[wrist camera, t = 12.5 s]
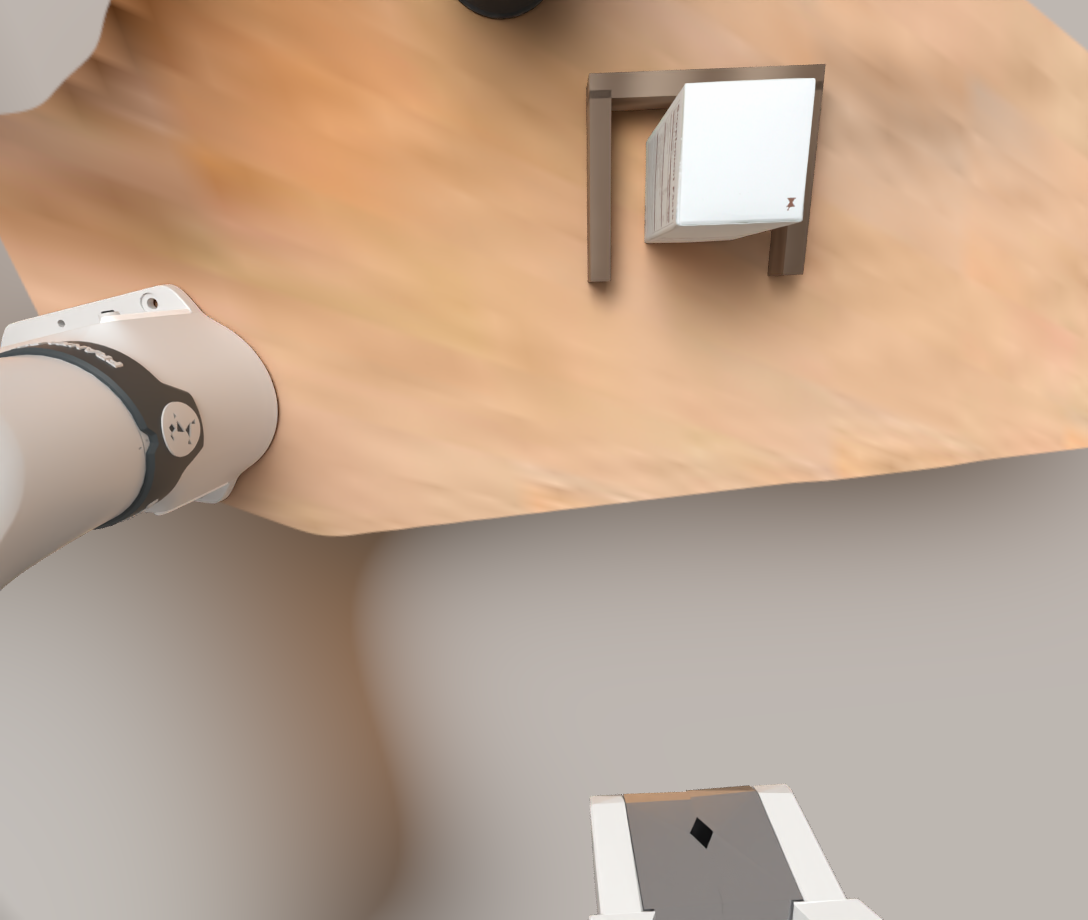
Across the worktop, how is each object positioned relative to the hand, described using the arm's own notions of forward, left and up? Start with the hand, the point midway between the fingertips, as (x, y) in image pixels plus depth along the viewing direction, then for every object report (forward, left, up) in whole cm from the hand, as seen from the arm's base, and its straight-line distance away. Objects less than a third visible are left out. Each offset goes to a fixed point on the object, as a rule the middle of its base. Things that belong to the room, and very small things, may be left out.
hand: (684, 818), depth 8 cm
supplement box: (+10, +14, -40) cm, 44 cm away
